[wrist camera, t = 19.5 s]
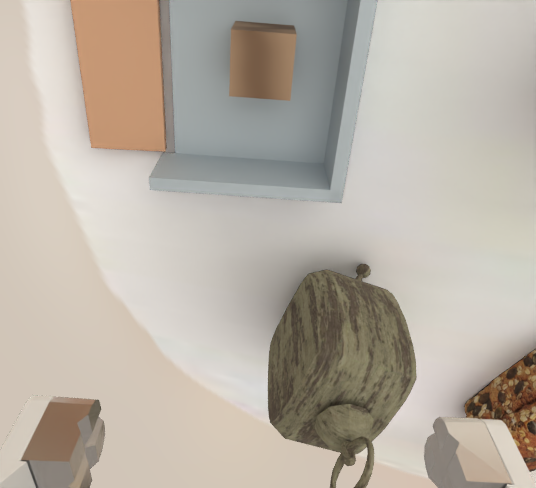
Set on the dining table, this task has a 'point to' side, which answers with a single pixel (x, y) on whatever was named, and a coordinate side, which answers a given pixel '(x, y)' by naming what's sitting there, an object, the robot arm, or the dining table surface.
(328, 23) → the blue-grey open tray
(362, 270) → the tabletop clock
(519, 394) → the bread
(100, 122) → the panel
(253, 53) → the walnut block
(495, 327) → the dining table surface
